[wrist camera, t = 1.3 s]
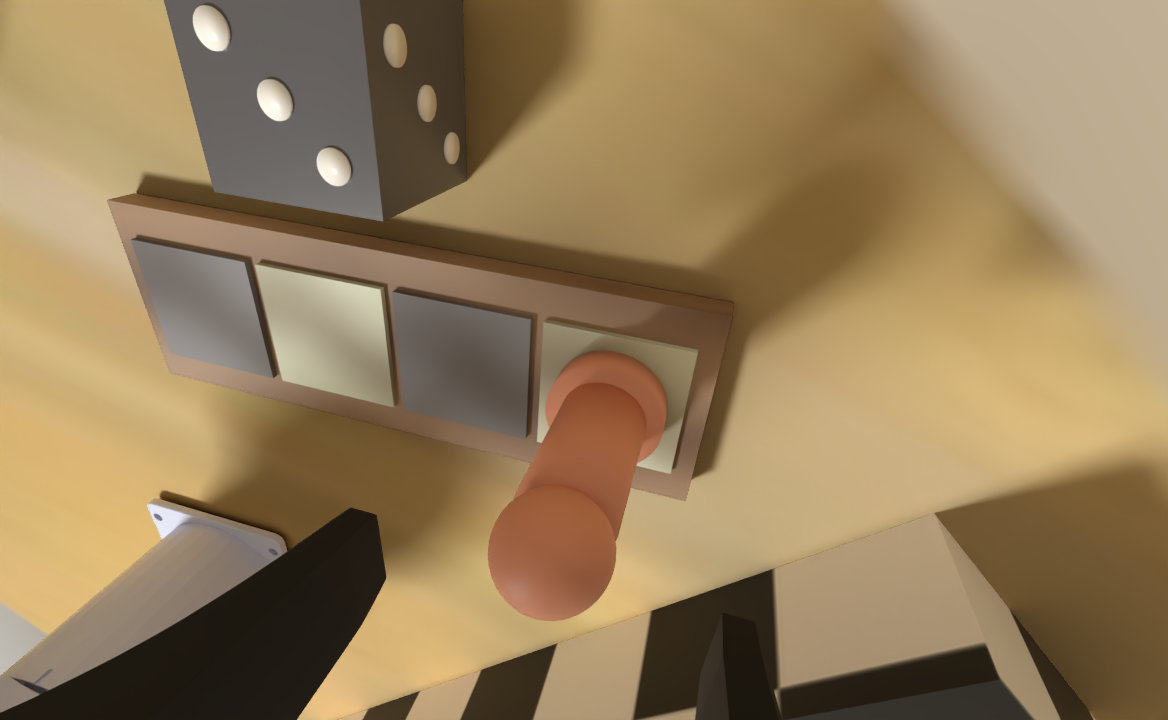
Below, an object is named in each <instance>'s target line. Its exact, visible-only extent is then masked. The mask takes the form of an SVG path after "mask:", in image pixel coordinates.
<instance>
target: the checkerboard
mask: <svg viewBox="0 0 1168 720" xmlns="http://www.w3.org/2000/svg"><path fill="white" fill-rule="evenodd" d="M722 613H726V614H730V615H733V616H737V617H740V618H744V619H747V620H751V621H754V622H756V623H757V625H758V626H759V627H760V632H761V638H762V643H763V647H764V652H765V656H766V661H767V665H768V669H769V673H770V677H771V681H772V685H773V689H774V692H775V696H776V700H777V703H778V707H779V710H780V714H781V717H782V720H1096V719H1095V718H1094V717H1093V715H1092V714H1091V713H1090V711H1089V710H1088V709H1087V708H1086V706H1085V705H1084V704H1083V702H1082V701H1081V700H1080V699H1079V697H1078V696H1077V695H1076V694H1075V692H1074V691H1073V690H1072V688H1071V687H1070V686H1069V685H1068V683H1067V682H1066V681H1065V680H1064V678H1063V677H1062V676H1061V674H1060V673H1059V672H1058V671H1057V669H1056V668H1055V667H1054V665H1053V664H1052V663H1051V662H1050V660H1049V659H1048V658H1047V657H1046V655H1045V654H1044V653H1043V651H1042V650H1041V649H1040V648H1039V646H1038V645H1037V644H1036V643H1035V641H1034V640H1033V639H1032V637H1031V636H1030V635H1029V634H1028V632H1027V631H1026V630H1025V628H1024V627H1023V626H1022V625H1021V623H1020V622H1019V621H1018V620H1017V618H1016V617H1015V616H1014V614H1013V613H1012V612H1011V611H1010V609H1009V608H1008V607H1007V606H1006V604H1005V603H1004V602H1003V600H1002V599H1001V598H1000V597H999V595H998V594H997V593H996V591H995V590H994V589H993V588H992V586H991V585H990V584H989V583H988V581H987V580H986V579H985V577H984V576H983V575H982V574H981V572H980V571H979V570H978V569H977V567H976V566H975V565H974V563H973V562H972V561H971V560H970V558H969V557H968V556H967V554H966V553H965V552H964V551H963V549H962V548H961V547H960V546H959V544H958V543H957V542H956V540H955V539H954V538H953V537H952V535H951V534H950V533H949V531H948V530H947V529H946V528H945V526H944V525H943V524H942V523H941V521H940V520H939V519H938V517H937V516H936V515H935V514H931V515H928V516H925V517H922V518H919V519H916V520H913V521H910V522H908V523H905V524H902V525H899V526H896V527H893V528H890V529H887V530H884V531H882V532H879V533H876V534H873V535H870V536H867V537H864V538H861V539H858V540H856V541H853V542H850V543H847V544H844V545H841V546H838V547H835V548H832V549H829V550H827V551H824V552H821V553H818V554H815V555H812V556H809V557H806V558H803V559H801V560H798V561H795V562H792V563H789V564H786V565H783V566H780V567H777V568H775V569H772V570H769V571H766V572H763V573H760V574H757V575H754V576H751V577H749V578H746V579H743V580H740V581H737V582H734V583H731V584H728V585H725V586H723V587H720V588H717V589H714V590H711V591H708V592H705V593H702V594H699V595H697V596H694V597H691V598H688V599H685V600H682V601H679V602H676V603H673V604H671V605H668V606H665V607H662V608H659V609H656V610H653V611H650V612H647V613H645V614H642V615H639V616H636V617H633V618H630V619H627V620H624V621H621V622H619V623H616V624H613V625H610V626H607V627H604V628H601V629H598V630H595V631H592V632H590V633H587V634H584V635H581V636H578V637H575V638H572V639H569V640H566V641H564V642H561V643H558V644H555V645H552V646H549V647H546V648H543V649H540V650H538V651H535V652H532V653H529V654H526V655H523V656H520V657H517V658H514V659H512V660H509V661H506V662H503V663H500V664H497V665H494V666H491V667H488V668H486V669H483V670H480V671H477V672H474V673H471V674H468V675H465V676H462V677H460V678H457V679H454V680H451V681H448V682H445V683H442V684H439V685H436V686H434V687H431V688H428V689H425V690H422V691H419V692H416V693H413V694H410V695H408V696H405V697H402V698H399V699H396V700H393V701H390V702H387V703H384V704H382V705H379V706H376V707H373V708H370V709H367V710H364V711H361V712H358V713H355V714H353V715H350V716H347V717H344V718H341V719H338V720H695V715H696V706H697V698H698V689H699V681H700V673H701V670H702V667H703V665H704V662H705V659H706V656H707V653H708V651H709V648H710V645H711V642H712V639H713V636H714V634H715V631H716V628H717V625H718V622H719V620H720V617H721V614H722Z"/></svg>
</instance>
